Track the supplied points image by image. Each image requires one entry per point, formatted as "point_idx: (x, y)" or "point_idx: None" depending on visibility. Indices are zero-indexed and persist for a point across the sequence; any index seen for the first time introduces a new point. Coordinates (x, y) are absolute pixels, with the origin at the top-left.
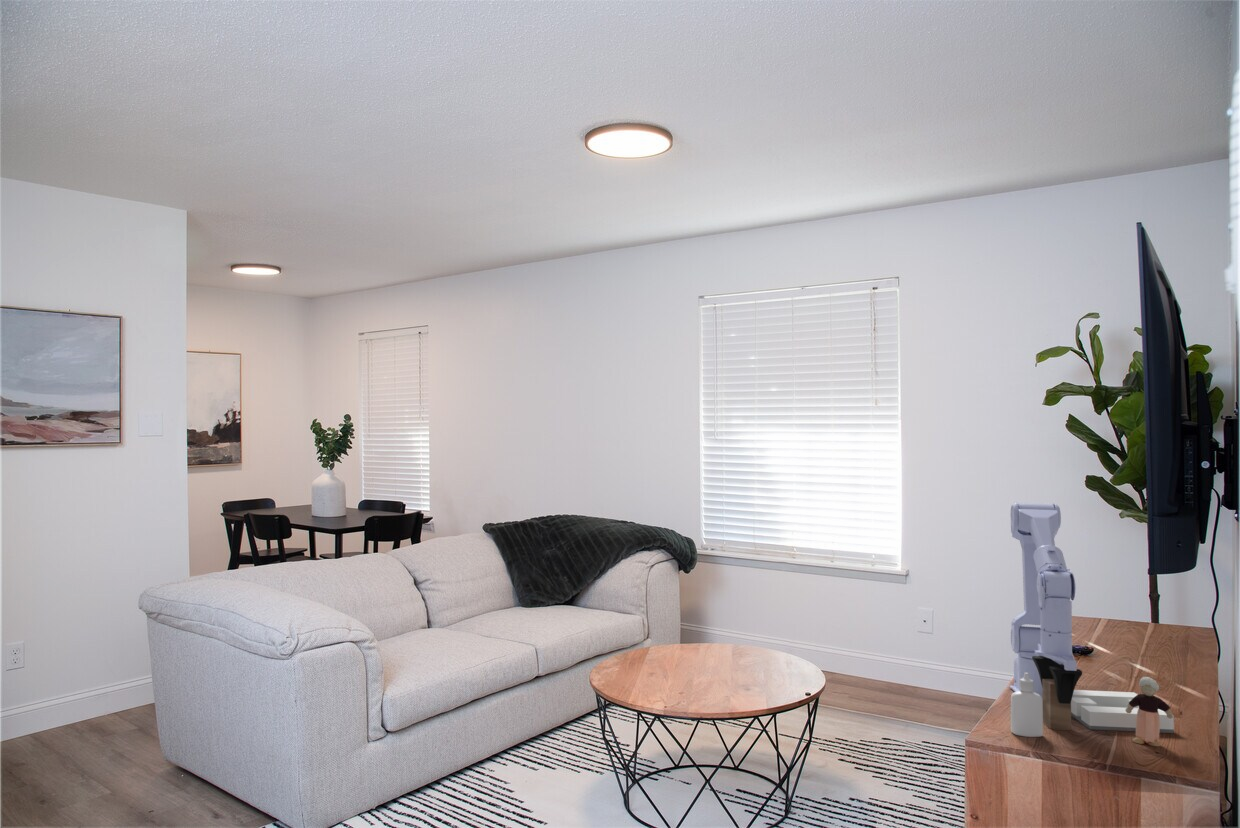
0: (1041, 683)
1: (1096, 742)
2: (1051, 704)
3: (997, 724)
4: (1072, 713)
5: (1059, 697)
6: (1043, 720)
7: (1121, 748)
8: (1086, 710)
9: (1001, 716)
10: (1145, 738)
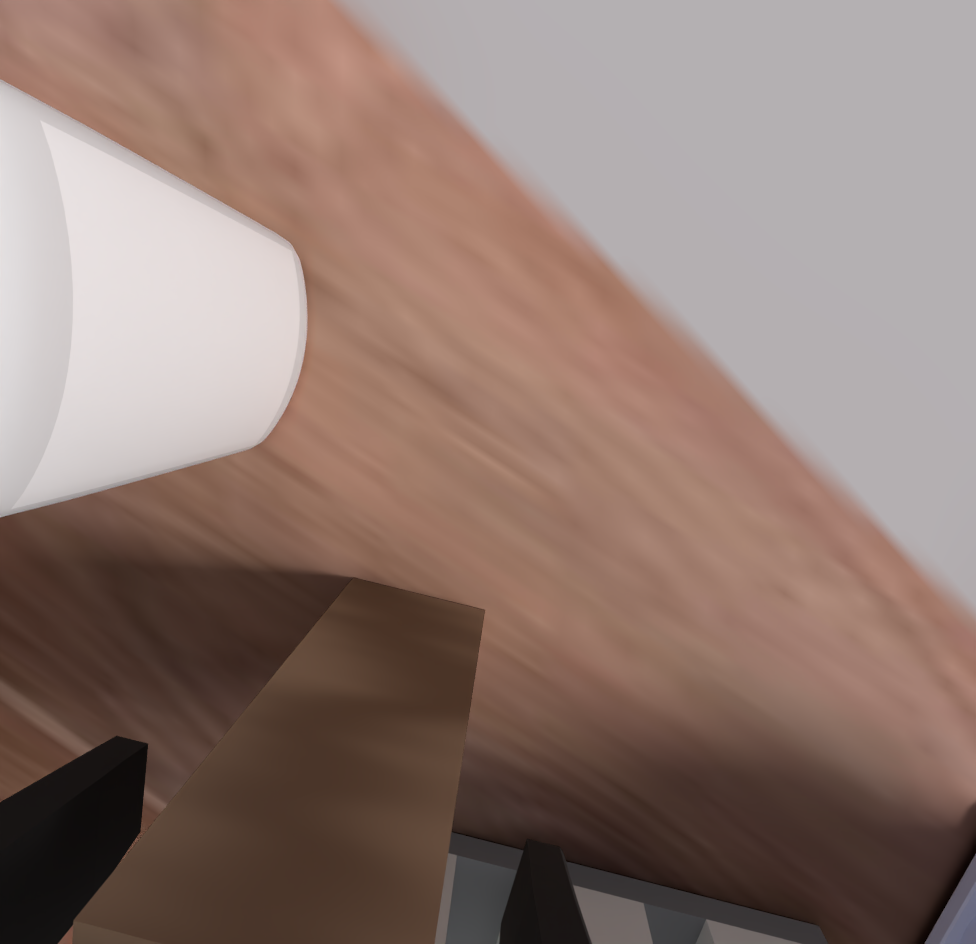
0: (578, 938)
1: (118, 690)
2: (264, 695)
3: (473, 238)
4: (584, 884)
5: (43, 783)
6: (467, 616)
7: (34, 753)
8: None
9: (658, 393)
10: (65, 936)
